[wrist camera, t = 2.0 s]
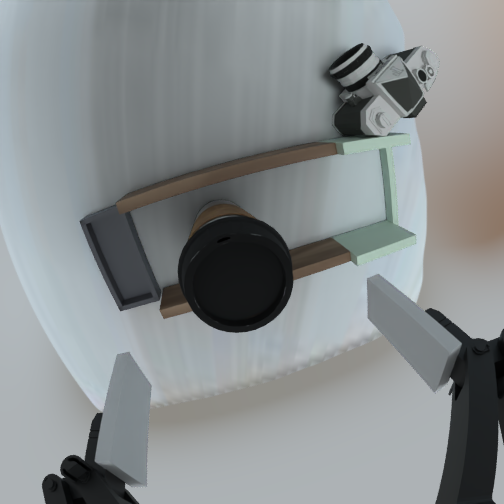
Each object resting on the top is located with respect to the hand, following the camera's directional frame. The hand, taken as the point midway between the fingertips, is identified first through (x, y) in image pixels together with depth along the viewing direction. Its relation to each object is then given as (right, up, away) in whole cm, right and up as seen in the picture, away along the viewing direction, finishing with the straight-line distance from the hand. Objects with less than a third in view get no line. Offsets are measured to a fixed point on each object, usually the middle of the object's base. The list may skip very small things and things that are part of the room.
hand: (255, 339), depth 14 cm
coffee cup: (-4, +8, +18) cm, 20 cm away
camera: (+14, +26, +15) cm, 33 cm away
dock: (+13, +12, +19) cm, 26 cm away
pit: (-15, +4, +17) cm, 23 cm away
